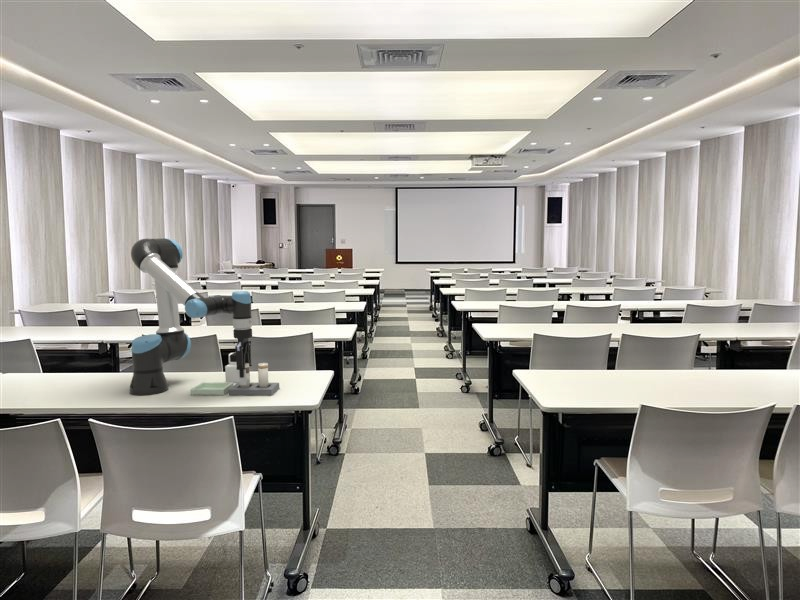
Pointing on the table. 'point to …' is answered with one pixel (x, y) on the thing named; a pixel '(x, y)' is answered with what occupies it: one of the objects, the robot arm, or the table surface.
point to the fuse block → (253, 390)
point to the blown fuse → (246, 377)
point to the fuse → (263, 375)
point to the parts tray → (211, 388)
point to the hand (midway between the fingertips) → (244, 383)
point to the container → (232, 369)
